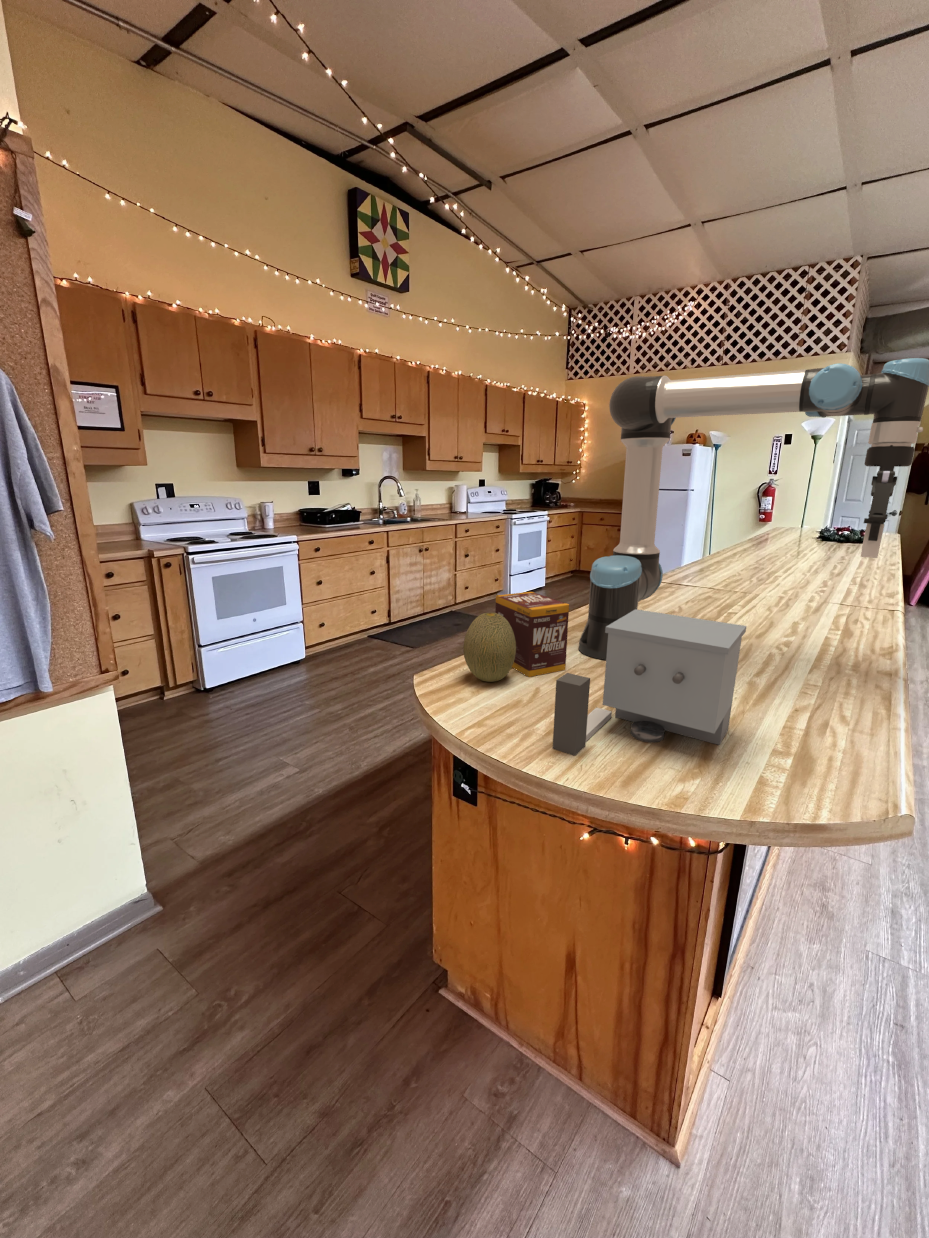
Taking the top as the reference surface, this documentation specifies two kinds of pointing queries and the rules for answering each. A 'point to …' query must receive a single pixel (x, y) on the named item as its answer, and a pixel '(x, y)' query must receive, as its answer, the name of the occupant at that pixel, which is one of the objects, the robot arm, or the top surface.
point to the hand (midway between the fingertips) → (869, 553)
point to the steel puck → (647, 731)
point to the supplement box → (536, 631)
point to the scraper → (575, 714)
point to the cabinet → (673, 672)
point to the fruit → (489, 647)
